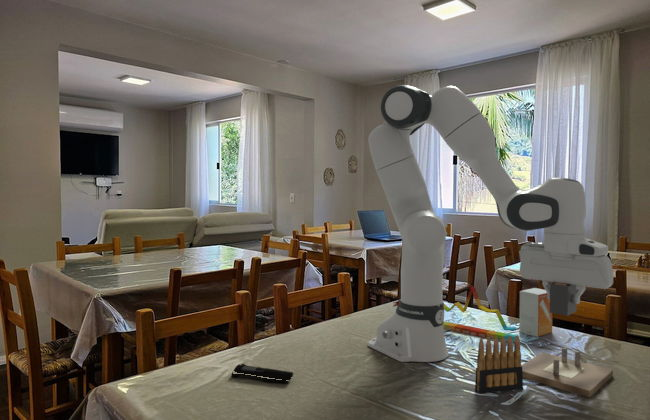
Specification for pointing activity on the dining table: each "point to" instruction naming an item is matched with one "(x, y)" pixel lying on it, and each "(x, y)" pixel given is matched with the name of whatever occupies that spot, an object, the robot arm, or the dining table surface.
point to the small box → (535, 312)
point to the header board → (566, 373)
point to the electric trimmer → (262, 373)
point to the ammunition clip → (499, 366)
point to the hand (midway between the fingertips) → (563, 301)
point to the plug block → (562, 298)
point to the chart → (475, 330)
